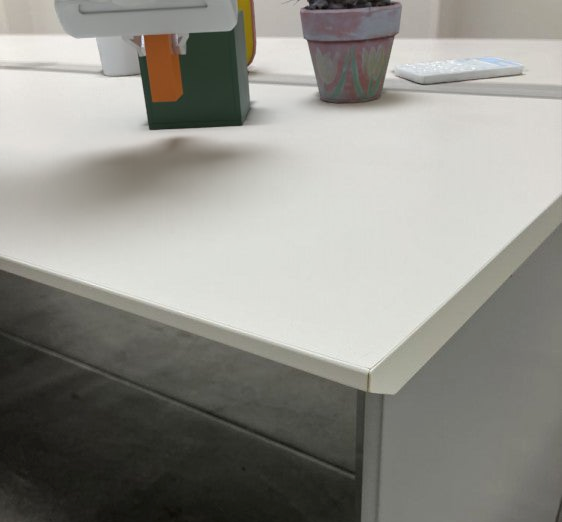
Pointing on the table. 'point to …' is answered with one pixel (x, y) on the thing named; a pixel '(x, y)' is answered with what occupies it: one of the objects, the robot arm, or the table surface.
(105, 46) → the mug
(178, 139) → the table surface
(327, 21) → the potted plant
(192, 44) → the trash can
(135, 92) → the table surface
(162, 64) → the orange rectangular block
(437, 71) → the calculator
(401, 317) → the table surface
